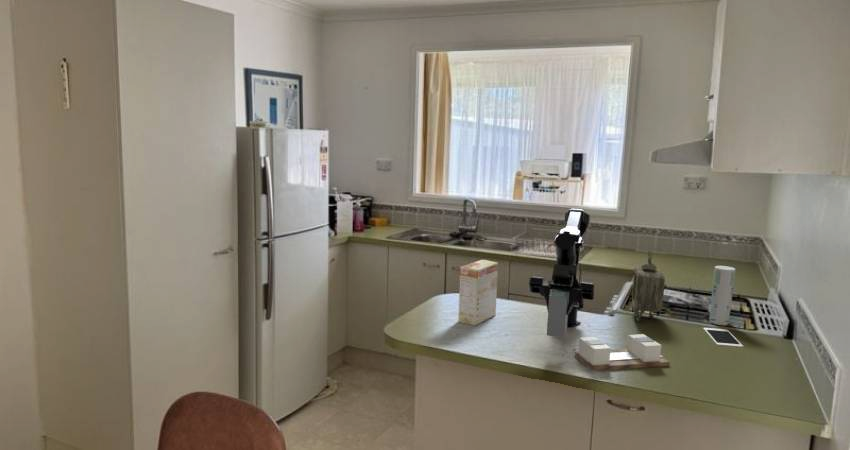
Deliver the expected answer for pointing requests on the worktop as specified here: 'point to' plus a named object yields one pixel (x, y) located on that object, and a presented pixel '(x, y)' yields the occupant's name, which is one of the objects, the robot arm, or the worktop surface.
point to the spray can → (722, 295)
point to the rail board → (623, 361)
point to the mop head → (647, 288)
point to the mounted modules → (636, 344)
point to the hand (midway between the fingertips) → (557, 313)
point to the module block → (557, 313)
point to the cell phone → (723, 337)
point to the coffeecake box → (477, 292)
